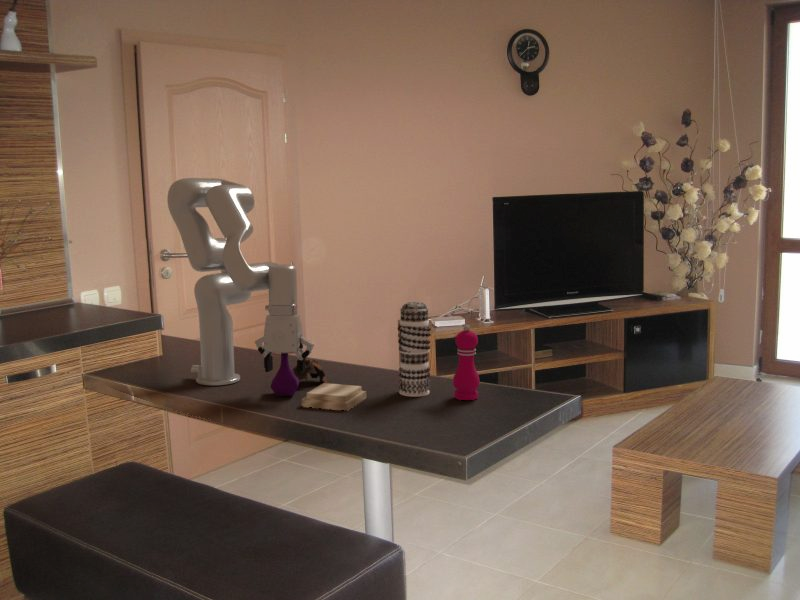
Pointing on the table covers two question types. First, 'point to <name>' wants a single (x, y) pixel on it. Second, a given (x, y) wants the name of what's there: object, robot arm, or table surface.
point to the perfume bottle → (284, 379)
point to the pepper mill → (466, 366)
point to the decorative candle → (414, 350)
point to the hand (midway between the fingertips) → (284, 372)
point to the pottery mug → (311, 371)
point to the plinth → (334, 397)
